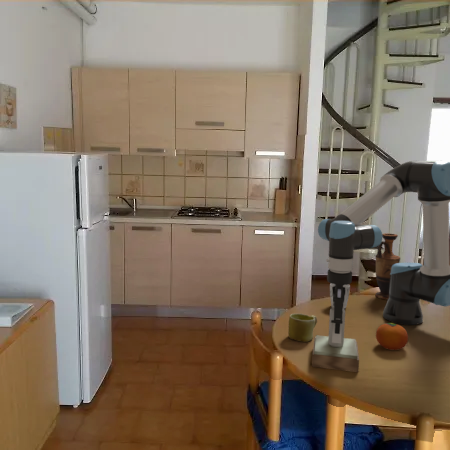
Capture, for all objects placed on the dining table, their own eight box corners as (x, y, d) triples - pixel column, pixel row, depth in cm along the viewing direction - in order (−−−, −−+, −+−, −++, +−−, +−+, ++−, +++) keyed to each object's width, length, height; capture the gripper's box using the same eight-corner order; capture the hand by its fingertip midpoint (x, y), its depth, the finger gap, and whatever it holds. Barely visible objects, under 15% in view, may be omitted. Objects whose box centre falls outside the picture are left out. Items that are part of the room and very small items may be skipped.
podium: (356, 352, 152) (357, 338, 151) (358, 372, 139) (359, 356, 138) (314, 348, 155) (314, 334, 154) (312, 366, 142) (312, 351, 141)
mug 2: (352, 312, 191) (354, 289, 189) (332, 312, 191) (333, 289, 189) (345, 303, 202) (347, 282, 200) (327, 303, 202) (328, 281, 200)
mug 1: (298, 342, 155) (298, 312, 158) (281, 340, 164) (282, 312, 167) (326, 343, 161) (326, 314, 163) (309, 341, 170) (309, 314, 172)
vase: (393, 293, 218) (398, 232, 213) (400, 301, 207) (405, 236, 202) (370, 292, 219) (374, 231, 214) (375, 300, 208) (380, 236, 203)
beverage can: (326, 342, 148) (327, 307, 146) (340, 341, 149) (342, 306, 147) (330, 348, 144) (332, 312, 142) (345, 347, 144) (347, 311, 142)
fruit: (407, 356, 150) (409, 333, 149) (374, 351, 154) (376, 328, 153) (406, 343, 160) (408, 322, 159) (375, 339, 164) (377, 318, 162)
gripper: (328, 260, 155) (325, 319, 158) (327, 279, 131) (323, 348, 134) (350, 261, 153) (347, 321, 157) (353, 281, 129) (349, 351, 133)
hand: (336, 334), depth 146 cm, fingers open, 13 cm apart
